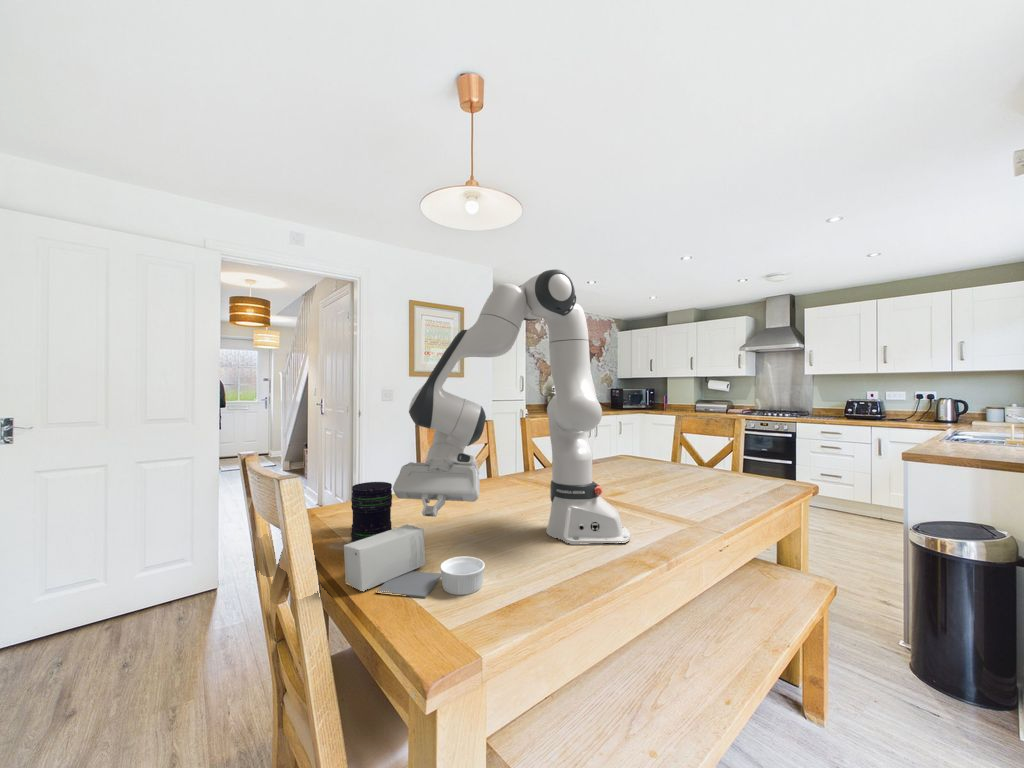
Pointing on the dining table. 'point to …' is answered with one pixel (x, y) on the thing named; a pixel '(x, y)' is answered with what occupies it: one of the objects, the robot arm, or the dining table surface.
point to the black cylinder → (371, 509)
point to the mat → (411, 584)
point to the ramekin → (462, 575)
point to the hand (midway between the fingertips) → (429, 515)
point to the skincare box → (383, 556)
